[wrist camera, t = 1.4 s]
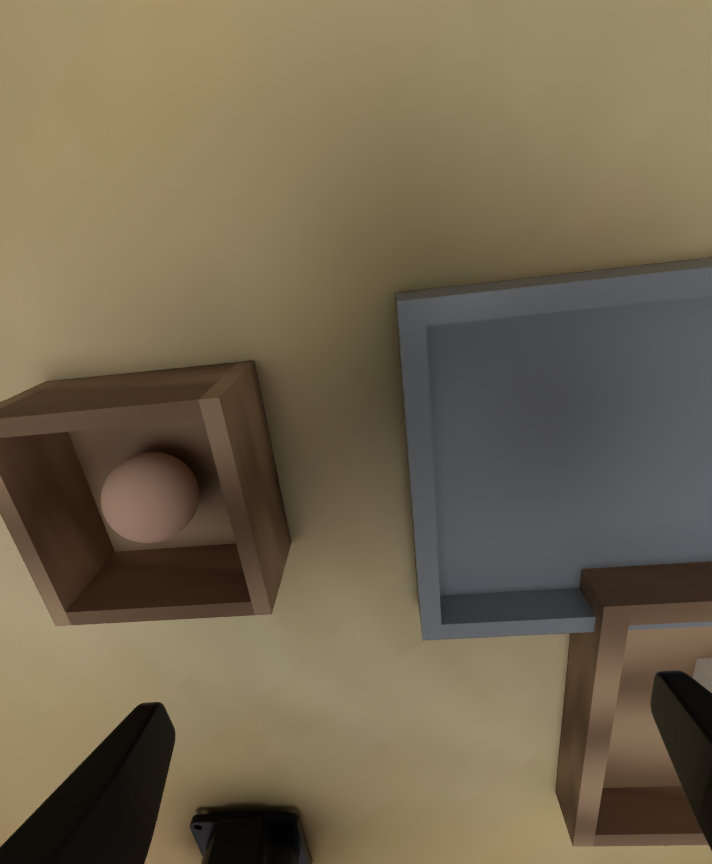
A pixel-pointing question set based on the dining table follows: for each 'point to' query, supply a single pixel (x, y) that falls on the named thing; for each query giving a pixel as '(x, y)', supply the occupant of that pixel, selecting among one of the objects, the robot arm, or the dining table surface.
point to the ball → (149, 497)
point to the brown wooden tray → (629, 705)
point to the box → (113, 443)
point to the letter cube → (704, 672)
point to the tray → (554, 440)
